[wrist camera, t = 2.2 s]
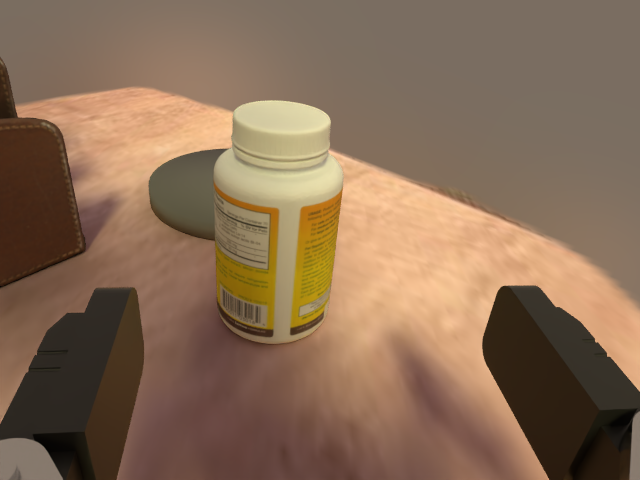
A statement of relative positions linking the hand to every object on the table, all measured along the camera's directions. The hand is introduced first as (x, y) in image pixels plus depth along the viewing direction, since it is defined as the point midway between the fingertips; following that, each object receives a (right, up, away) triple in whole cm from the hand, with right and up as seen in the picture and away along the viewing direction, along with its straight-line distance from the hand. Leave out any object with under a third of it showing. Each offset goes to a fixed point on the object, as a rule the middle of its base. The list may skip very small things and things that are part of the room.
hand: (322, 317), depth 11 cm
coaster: (-6, +5, +25) cm, 26 cm away
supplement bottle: (-2, -2, +15) cm, 15 cm away
